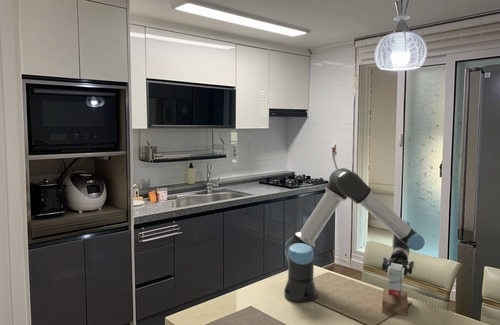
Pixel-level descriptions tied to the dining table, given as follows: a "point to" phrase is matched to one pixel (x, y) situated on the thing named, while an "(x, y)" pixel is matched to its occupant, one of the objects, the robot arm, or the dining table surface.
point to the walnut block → (395, 303)
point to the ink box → (395, 279)
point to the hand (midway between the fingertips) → (395, 274)
